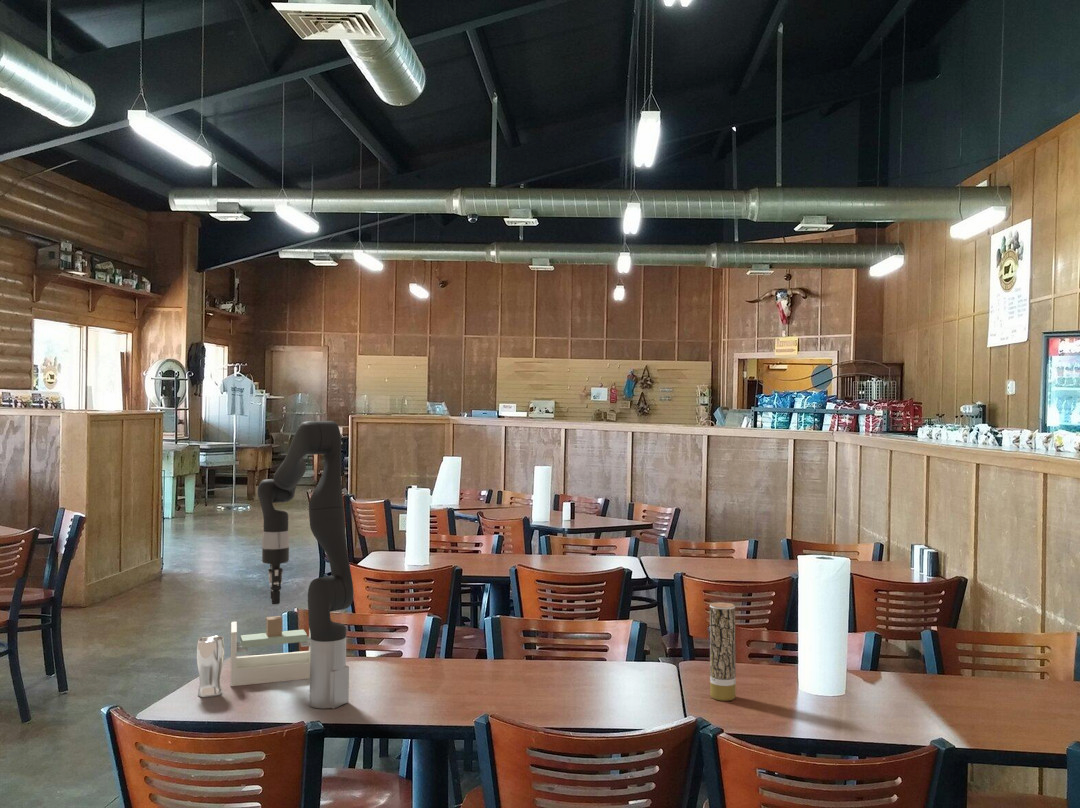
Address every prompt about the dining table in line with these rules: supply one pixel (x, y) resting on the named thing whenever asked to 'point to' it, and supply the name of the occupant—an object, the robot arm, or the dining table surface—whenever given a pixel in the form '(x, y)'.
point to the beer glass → (210, 665)
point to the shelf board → (273, 640)
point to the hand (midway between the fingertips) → (275, 601)
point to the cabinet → (267, 664)
